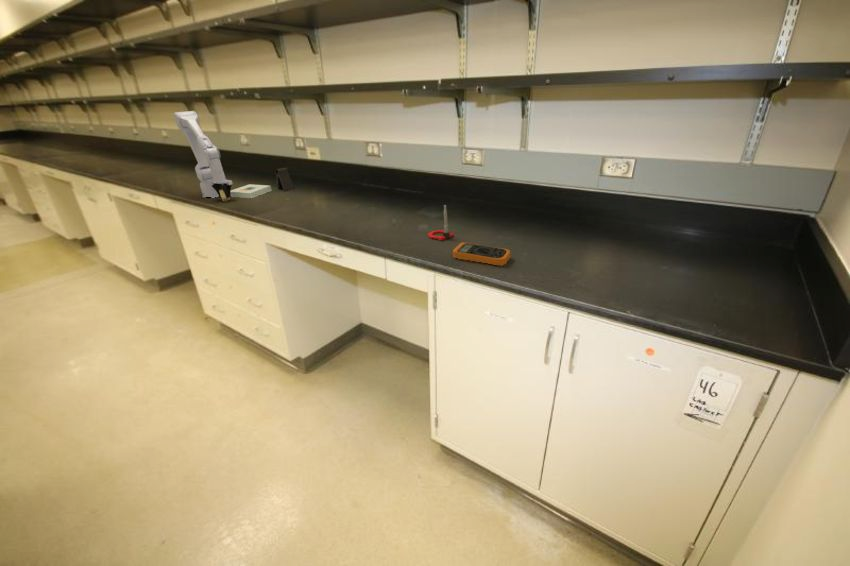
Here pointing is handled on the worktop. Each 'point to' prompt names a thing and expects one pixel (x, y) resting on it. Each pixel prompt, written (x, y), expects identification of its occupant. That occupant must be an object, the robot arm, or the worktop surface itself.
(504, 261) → the multimeter
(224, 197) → the cylinder
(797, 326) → the worktop surface
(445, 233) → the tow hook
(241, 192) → the plate
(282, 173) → the phone stand
